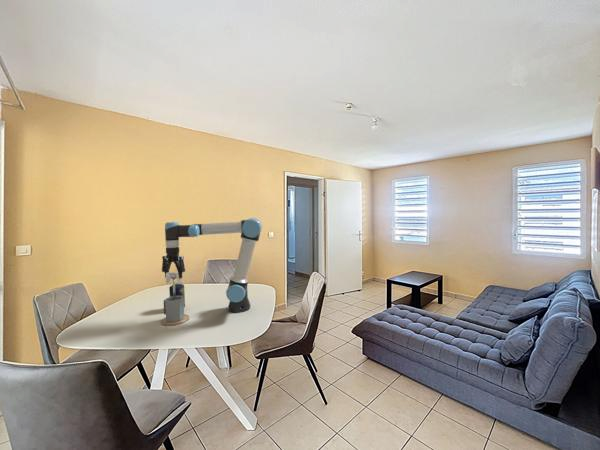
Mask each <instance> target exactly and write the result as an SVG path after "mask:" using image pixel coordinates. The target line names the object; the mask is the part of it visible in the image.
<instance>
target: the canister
mask: <svg viewBox="0 0 600 450" xmlns="http://www.w3.org/2000/svg"><path fill="white" fill-rule="evenodd" d="M185 295H186V294H185V285H184V284H183V283H180V284H178V283H175V296H183V298H184V308H185V306H186V299H185V298H186V297H185ZM172 296H173V284H171V285H170V286H169V297H172Z"/></svg>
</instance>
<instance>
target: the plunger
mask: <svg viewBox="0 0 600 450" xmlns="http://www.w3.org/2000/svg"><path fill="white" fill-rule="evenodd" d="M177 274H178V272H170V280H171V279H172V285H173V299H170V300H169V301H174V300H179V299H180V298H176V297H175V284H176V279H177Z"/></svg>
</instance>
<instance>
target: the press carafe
mask: <svg viewBox="0 0 600 450" xmlns="http://www.w3.org/2000/svg"><path fill="white" fill-rule="evenodd" d="M175 297H176V298H180V299H179V300H174V301H169V300H170V299H173V296H172V297H170V296H169V297H167V298H165V299H163V314H164V315H165V317H164V318H162V319H161V320H160V325H161V326H165V327H171V326H173V327H174V326H178V325H181V324H184V323H186V322H187V321H189V319H190V316H189V315H188V314H186V313H185V307H184V298H183V296H175Z"/></svg>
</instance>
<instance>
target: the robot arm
mask: <svg viewBox="0 0 600 450" xmlns="http://www.w3.org/2000/svg"><path fill="white" fill-rule="evenodd" d="M262 228H263V226H262V223H261V221H260V220H259V219H257V218H253V217H252V218H248V219H242V220H240V221H234V222H231V221H230V222H229V221H228V222H213V223H212V222H211V223H194V224H185V225H184V224H183V225H180V224H179V222H177V221H171V222H165V224H164V235H165V238H164V239H165V247H166V248H165V254H166V255H163V256H162V265H161V272H162V273H164V278H165V284H170V283H171V279H170V273H171V271H170V270H171V266H172V263H174V265H175V268H176V270H177V278H176V279H177V280H176V281H177V284H183V283H182V282H183V281H182V278H183V273H185V272H186V269H185V268H186V267H185V262H184V255H182V256H181V255H180V247H179V246H180V238H195V237H199V236H206V235H207V236H208V235H223V234H226V235H227V234H241V235H240V239H241V243H240V248H239V252H238V256H237V260H236V264H235V268H234V272H233V275H231V276H230V277H229V282H228V287H227V289H226V291H225V295H226V298H227V299H228V300H229V303H228V308H227V309H228V311H229V312H230V313H231V312H232V313H243V312H247V311H249V310H250V309H251V302H250V299H249V297H248V295H249V294H248V284H249V280H248V275H249V270H250V266H251V263H252V258H253V255H254V250H255V246H256V243H257V242H259V240H260V235H261V232H262Z"/></svg>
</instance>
